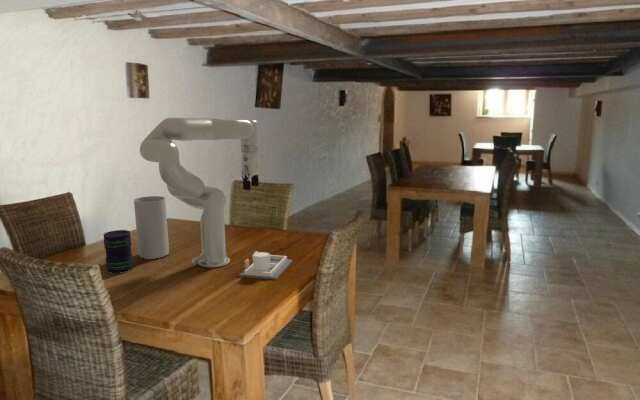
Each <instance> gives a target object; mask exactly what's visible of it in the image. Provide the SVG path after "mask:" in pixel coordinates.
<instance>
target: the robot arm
mask: <svg viewBox="0 0 640 400" xmlns="http://www.w3.org/2000/svg"><path fill="white" fill-rule="evenodd" d="M219 140H240V153H241V171H240V172H241V173H240V174H241V177H242V179H241V180H242V189H243V190H244V191H251V190H252V189H251V186H252V187H259V186H260V185H259V184H260V183H259V180H260V179H259V174H260V173H261V167H260V165H261V164H260V155H259V152H260V151H259V126H258V121H257V120H255V119H222V118H221V119H220V118H214V117H213V118H212V117H210V118H209V117H166V118H164V119H163V120H162V121H160V123H158V124H157V125H156V126H155V128H153V130H151V131H150V133H149V134H148V135H147V136H146V137H145V138H144V139H143V141H141V143H140V145H139V153H140V156H141V157H142V158H143V160H145V161H147V162H150V163H151V162H153V163H158V170H159V175H160V178H161V180H162V181H163V182H164V183H165V185H166V188H167V191H168V192H169V194H170V195H171V196H173V197H174V198H175V199H178V200H179V201H181V202H182V203H184V204H185V205H187V206H190V207H192V208H195V209H199V210H202V214H201V216H200V221H199V222H200V226H199V227H200V238H201V239H200V241H201V253H199V255H198V256H197V257H193V258H191V263H192V264H195V263H198V265H199V266H201V267H204V268H219V267H223V266H226V265H228V264H230V261H231V258H230V257H228V256H227V253H226V252H227V250H226V231H225V230H226V229H225V208H226V201H227V200H226V199H227V198H226V195H225V193H224V192H223V190H221V188H220V189H219V188H217V187H213V186H207V185H206V186H205V182H203V180H202V179H201V178H200V177H198V176H197V175H195V174H193V173H192V172H190V171H189V170H188V169H186V168H185V167H184V166H183V165H181V162H180V152H179V148H178V146H177V145H176V143H174V142H173V141H182V142H183V141H184V142H186V141H187V142H188V141H189V142H190V141H219ZM250 179H251V180H250Z"/></svg>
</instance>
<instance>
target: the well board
mask: <svg viewBox="0 0 640 400" xmlns="http://www.w3.org/2000/svg"><path fill="white" fill-rule="evenodd" d="M257 252H259V251H258V250H257V251H256V250H255V251H254V253H257ZM243 262H244V265H243V266H244V269H243V270H242V271H241V272H240V273H238V277H242V278H249V279H250V278H251V279H263V280H264V279H265V280H275V281H276V280H278V279H279V278H280V276H281V275H282V274H283V273H284V272H285V271H286V269H288V268H289V267H290V265H291V264H292V263H293V259H289V258H288V256H287V255H276V254H270V265H269V272H261V271H254V265H253V261H252V262H251V263H250V258H246V259H245V260H243Z"/></svg>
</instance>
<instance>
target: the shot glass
mask: <svg viewBox="0 0 640 400" xmlns="http://www.w3.org/2000/svg"><path fill="white" fill-rule="evenodd" d="M270 255H271V253H270V252H267V251H258V252H257V253H255V252H253V254H252V256H251V257H252V262H253V265H254V271H261V272H269V265H270Z"/></svg>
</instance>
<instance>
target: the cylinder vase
mask: <svg viewBox="0 0 640 400" xmlns="http://www.w3.org/2000/svg"><path fill="white" fill-rule="evenodd" d="M133 204H134V205H133V207H134V216H135V218H134V219H135V227H136V230H135V231H136V238H137V239H136V240H137V241H136V242H137V250H138V256H139V258H140V257H141V259H143V258H144V259H143V260H157V259H156V258H158V259H162V258H165V257H166V255H167V256H168V255H169V253H170V248H169V247H170V246H169V234H168V221H167V220H168V217H167V206H166V197H165V196H159V195H158V196H157V195H149V196H141V197H136V198H135V199H133ZM164 256H165V257H164ZM161 257H162V258H161Z"/></svg>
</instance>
